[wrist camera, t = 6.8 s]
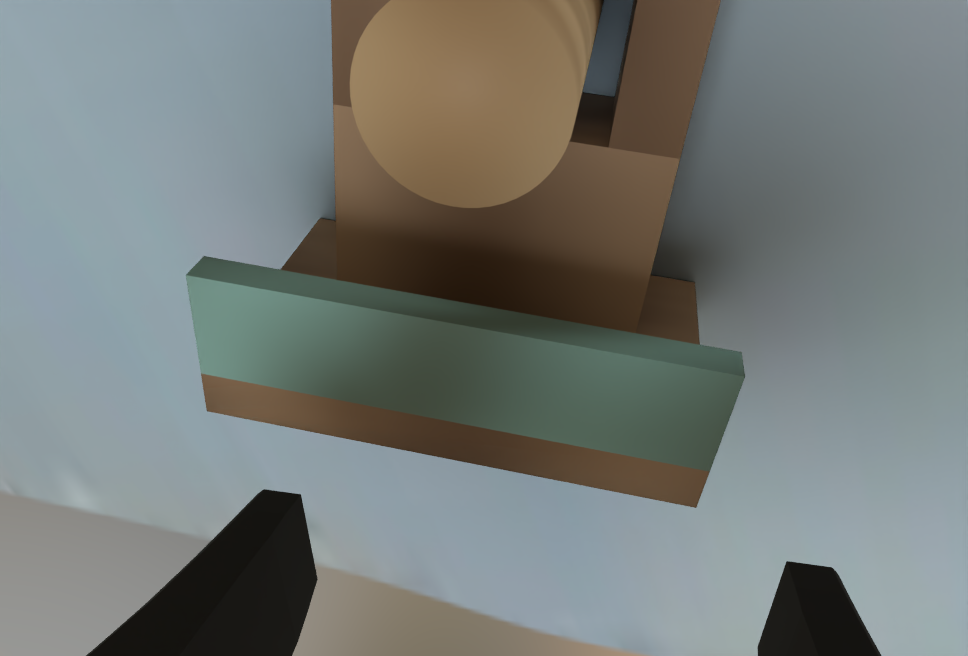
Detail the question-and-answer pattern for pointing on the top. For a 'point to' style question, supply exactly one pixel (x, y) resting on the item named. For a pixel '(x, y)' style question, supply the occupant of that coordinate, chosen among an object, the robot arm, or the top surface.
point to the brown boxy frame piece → (494, 299)
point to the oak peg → (472, 93)
